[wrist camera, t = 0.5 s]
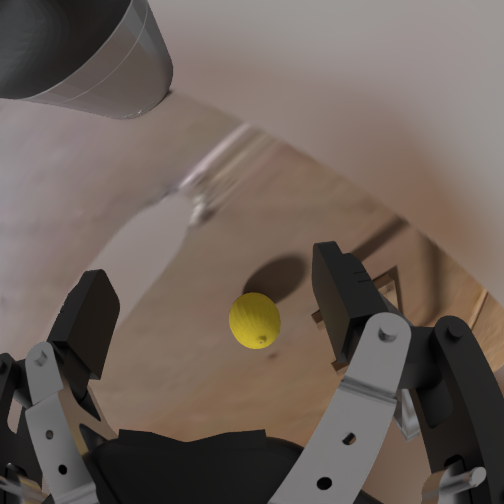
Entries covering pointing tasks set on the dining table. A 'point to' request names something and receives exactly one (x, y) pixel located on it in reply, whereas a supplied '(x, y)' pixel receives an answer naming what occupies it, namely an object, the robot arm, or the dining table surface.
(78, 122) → the dining table surface
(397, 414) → the keeper pocket
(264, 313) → the lemon
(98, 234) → the dining table surface
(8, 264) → the dining table surface
